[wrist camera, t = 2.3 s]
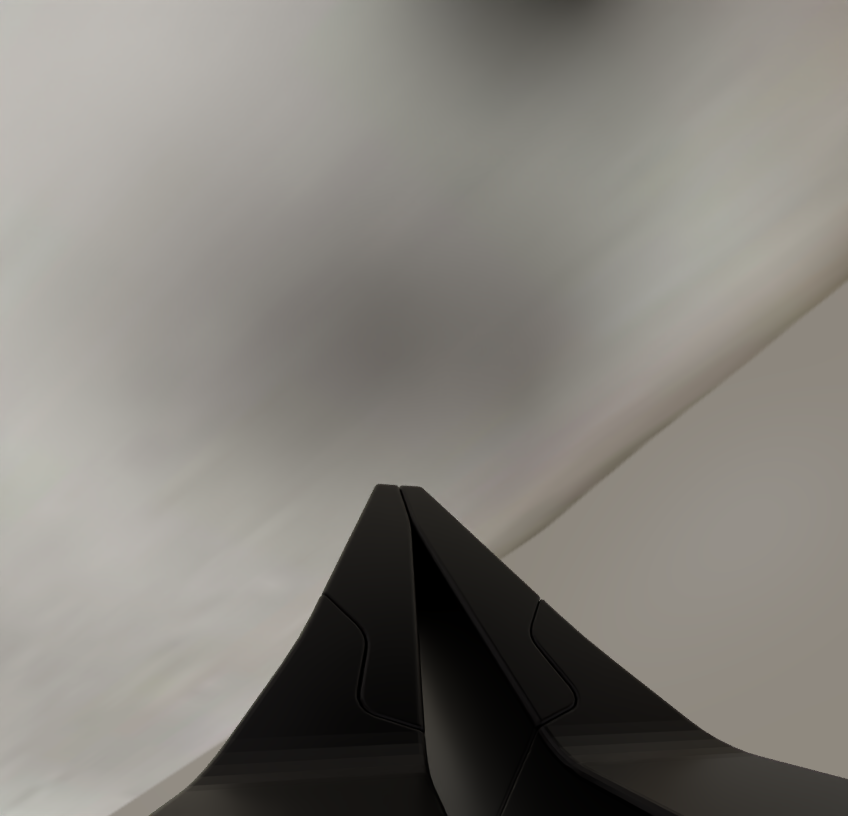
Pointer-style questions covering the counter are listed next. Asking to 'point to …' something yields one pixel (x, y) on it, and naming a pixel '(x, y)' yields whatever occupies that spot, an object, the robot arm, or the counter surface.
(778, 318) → the counter surface
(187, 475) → the counter surface
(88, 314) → the counter surface
